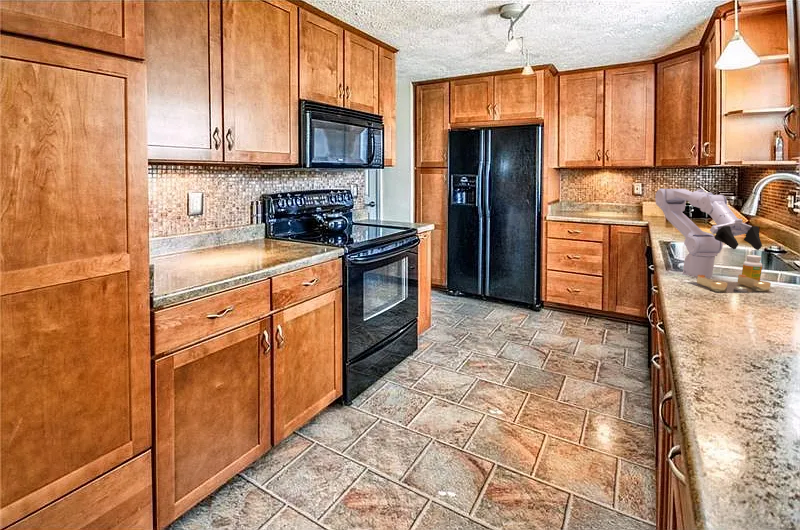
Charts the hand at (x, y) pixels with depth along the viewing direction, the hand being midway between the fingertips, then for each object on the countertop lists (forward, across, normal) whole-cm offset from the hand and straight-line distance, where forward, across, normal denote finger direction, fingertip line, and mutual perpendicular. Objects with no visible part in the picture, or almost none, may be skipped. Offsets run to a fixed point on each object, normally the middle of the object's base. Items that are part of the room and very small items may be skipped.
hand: (747, 247), depth 150 cm
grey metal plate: (+6, -2, +14) cm, 15 cm away
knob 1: (+6, -9, +12) cm, 16 cm away
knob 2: (+6, +5, +12) cm, 14 cm away
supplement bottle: (-4, +15, +20) cm, 26 cm away
